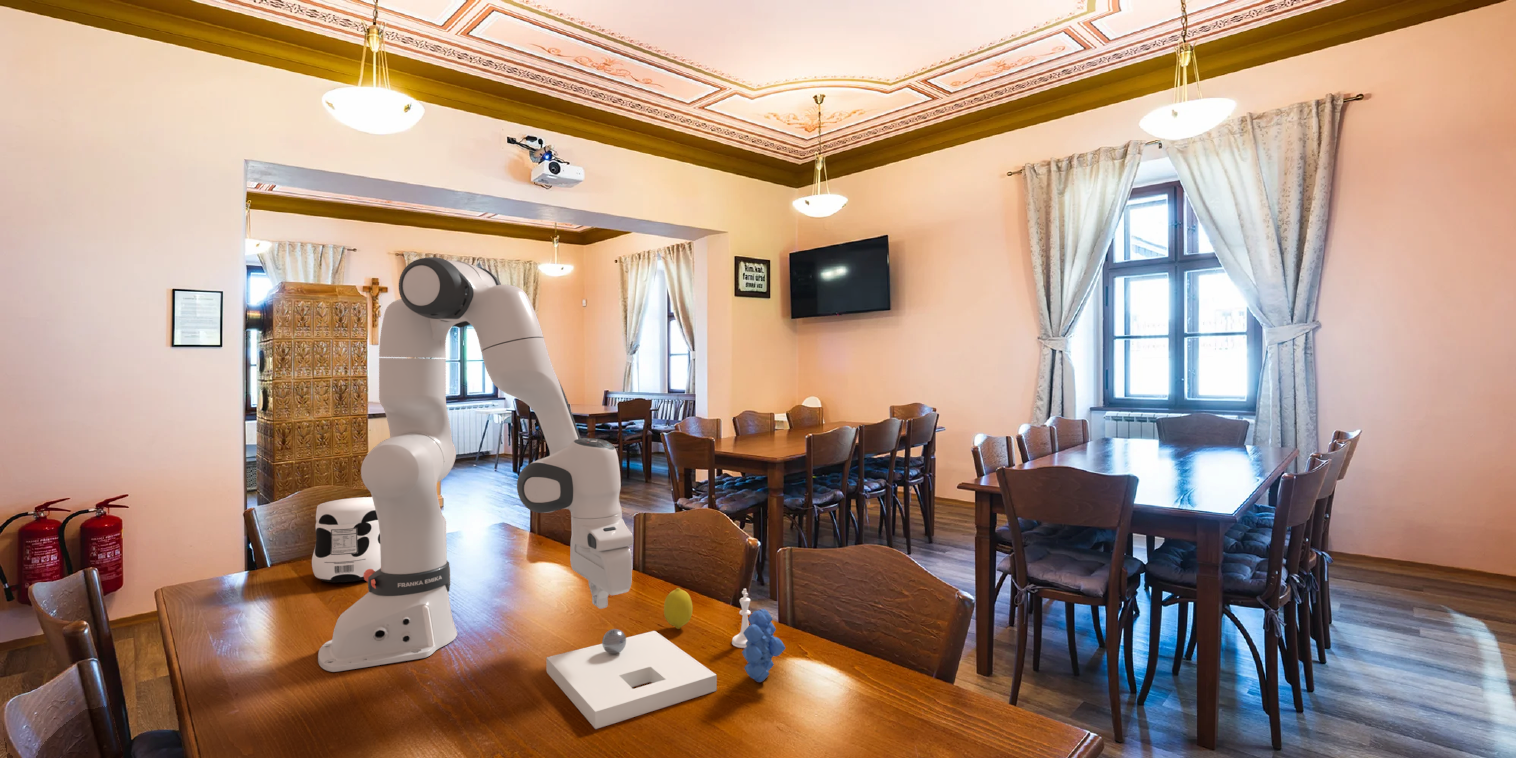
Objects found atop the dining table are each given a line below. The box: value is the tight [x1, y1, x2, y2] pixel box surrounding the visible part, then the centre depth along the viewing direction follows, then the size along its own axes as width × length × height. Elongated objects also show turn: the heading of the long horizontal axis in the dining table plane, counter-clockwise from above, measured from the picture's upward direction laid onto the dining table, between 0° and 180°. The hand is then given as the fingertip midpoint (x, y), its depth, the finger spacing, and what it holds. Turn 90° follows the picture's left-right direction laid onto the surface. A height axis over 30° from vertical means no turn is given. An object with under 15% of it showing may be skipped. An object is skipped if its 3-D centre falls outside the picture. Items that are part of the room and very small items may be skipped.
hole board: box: [545, 630, 718, 730], centre depth 113 cm, size 20×22×2 cm
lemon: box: [663, 587, 693, 630], centre depth 135 cm, size 6×6×8 cm
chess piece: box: [731, 588, 752, 649], centre depth 128 cm, size 5×5×10 cm
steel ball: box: [601, 628, 627, 654], centre depth 117 cm, size 4×4×4 cm
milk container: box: [311, 496, 381, 583], centre depth 168 cm, size 17×17×18 cm
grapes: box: [741, 608, 786, 683], centre depth 112 cm, size 12×7×12 cm, turn 164°
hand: (600, 606), depth 124 cm, fingers closed
